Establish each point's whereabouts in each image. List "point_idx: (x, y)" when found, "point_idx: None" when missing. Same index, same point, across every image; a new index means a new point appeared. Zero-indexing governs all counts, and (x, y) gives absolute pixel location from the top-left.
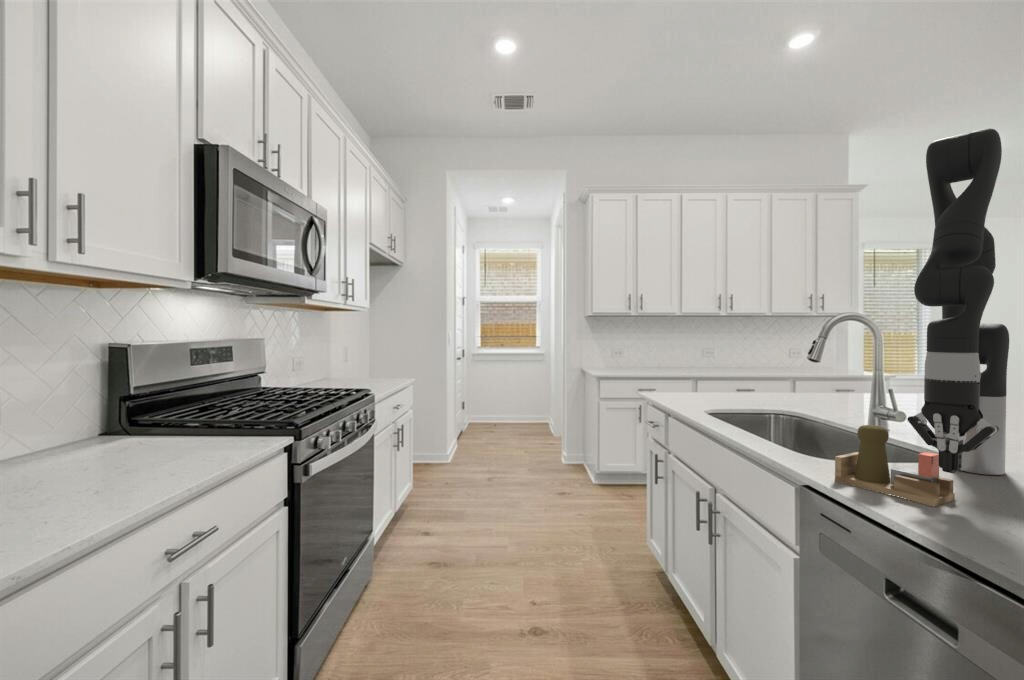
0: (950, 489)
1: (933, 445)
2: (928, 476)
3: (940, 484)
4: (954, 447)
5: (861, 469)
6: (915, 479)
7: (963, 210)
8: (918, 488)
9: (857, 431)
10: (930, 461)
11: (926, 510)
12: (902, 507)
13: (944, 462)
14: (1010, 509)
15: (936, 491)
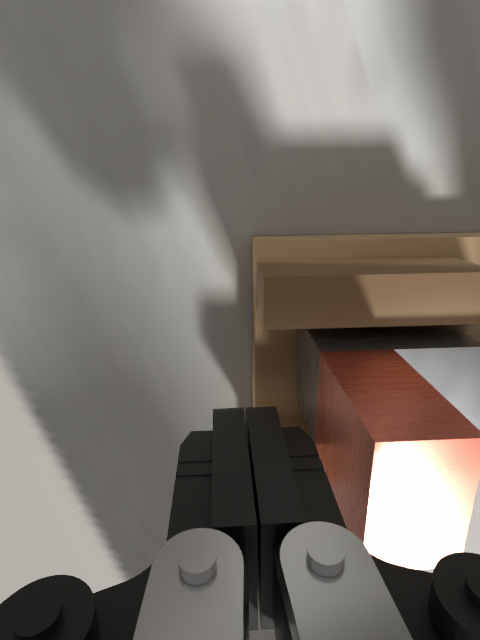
0: None
1: (426, 584)
2: (337, 354)
3: (299, 425)
4: (183, 600)
5: None
6: (386, 305)
7: None
8: (344, 266)
9: None
10: (364, 413)
11: (244, 137)
12: (330, 65)
13: (268, 443)
14: (91, 492)
15: (260, 281)
